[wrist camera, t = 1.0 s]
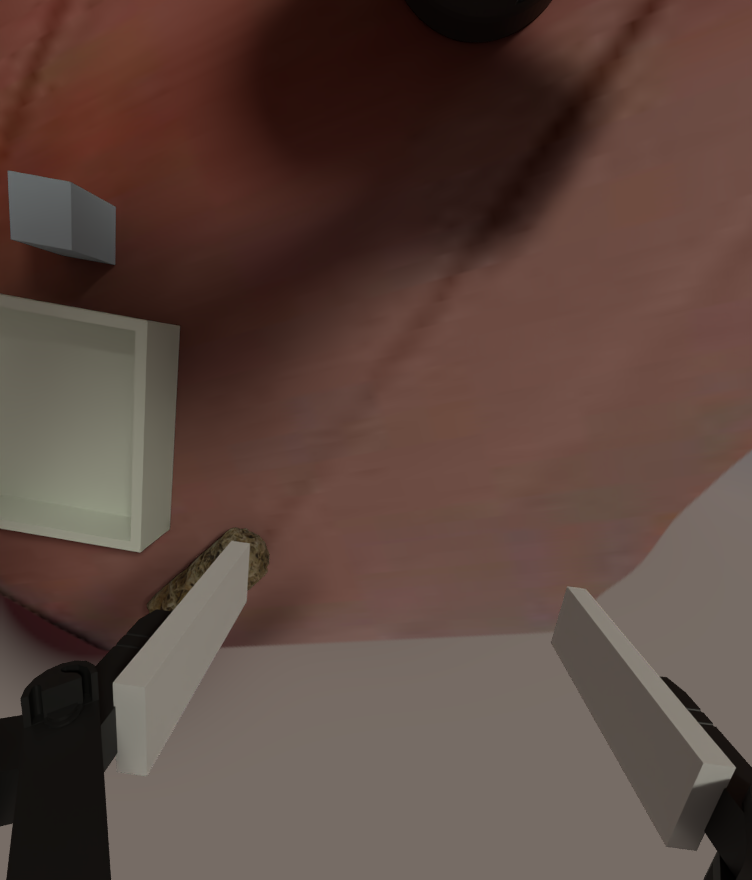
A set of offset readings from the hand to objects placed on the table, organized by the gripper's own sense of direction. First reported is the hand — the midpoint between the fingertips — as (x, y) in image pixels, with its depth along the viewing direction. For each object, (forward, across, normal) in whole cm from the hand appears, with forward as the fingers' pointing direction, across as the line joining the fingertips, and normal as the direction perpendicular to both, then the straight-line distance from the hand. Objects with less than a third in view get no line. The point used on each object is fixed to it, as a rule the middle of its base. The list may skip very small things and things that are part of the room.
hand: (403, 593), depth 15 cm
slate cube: (+24, -31, +17) cm, 43 cm away
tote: (+23, -38, -1) cm, 45 cm away
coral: (+24, -18, -17) cm, 34 cm away
